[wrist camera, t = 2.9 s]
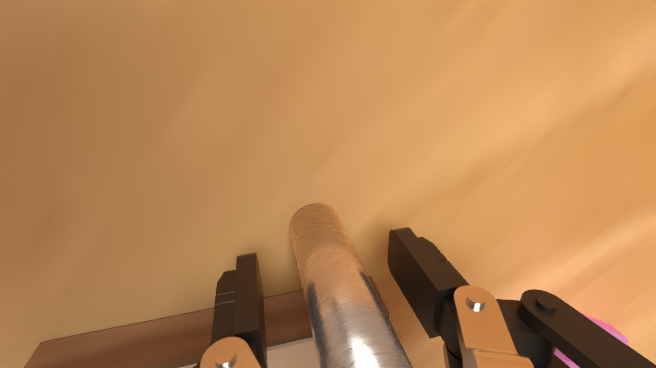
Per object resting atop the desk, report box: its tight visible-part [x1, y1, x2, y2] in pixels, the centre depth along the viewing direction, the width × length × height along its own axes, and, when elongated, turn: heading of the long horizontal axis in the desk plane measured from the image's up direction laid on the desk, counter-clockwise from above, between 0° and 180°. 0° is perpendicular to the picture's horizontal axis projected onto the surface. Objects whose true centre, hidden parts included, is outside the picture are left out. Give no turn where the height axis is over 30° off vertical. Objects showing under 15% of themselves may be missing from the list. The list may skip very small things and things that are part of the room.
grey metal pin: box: [290, 204, 412, 368], centre depth 11 cm, size 2×2×9 cm
